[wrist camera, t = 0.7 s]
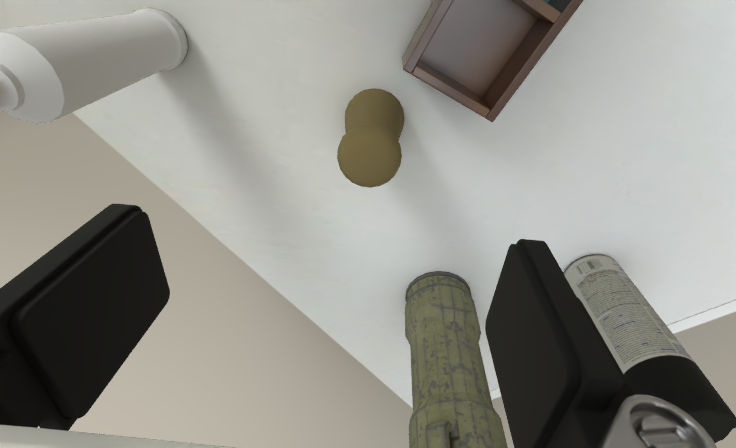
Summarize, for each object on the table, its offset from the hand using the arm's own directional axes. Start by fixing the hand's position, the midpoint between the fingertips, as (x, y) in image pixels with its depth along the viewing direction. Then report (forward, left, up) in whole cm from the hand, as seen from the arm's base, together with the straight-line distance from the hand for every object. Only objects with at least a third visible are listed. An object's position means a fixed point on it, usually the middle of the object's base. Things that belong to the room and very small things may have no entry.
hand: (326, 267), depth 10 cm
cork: (+3, -5, -31) cm, 31 cm away
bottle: (-18, -8, -31) cm, 37 cm away
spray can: (+36, -9, -31) cm, 48 cm away
